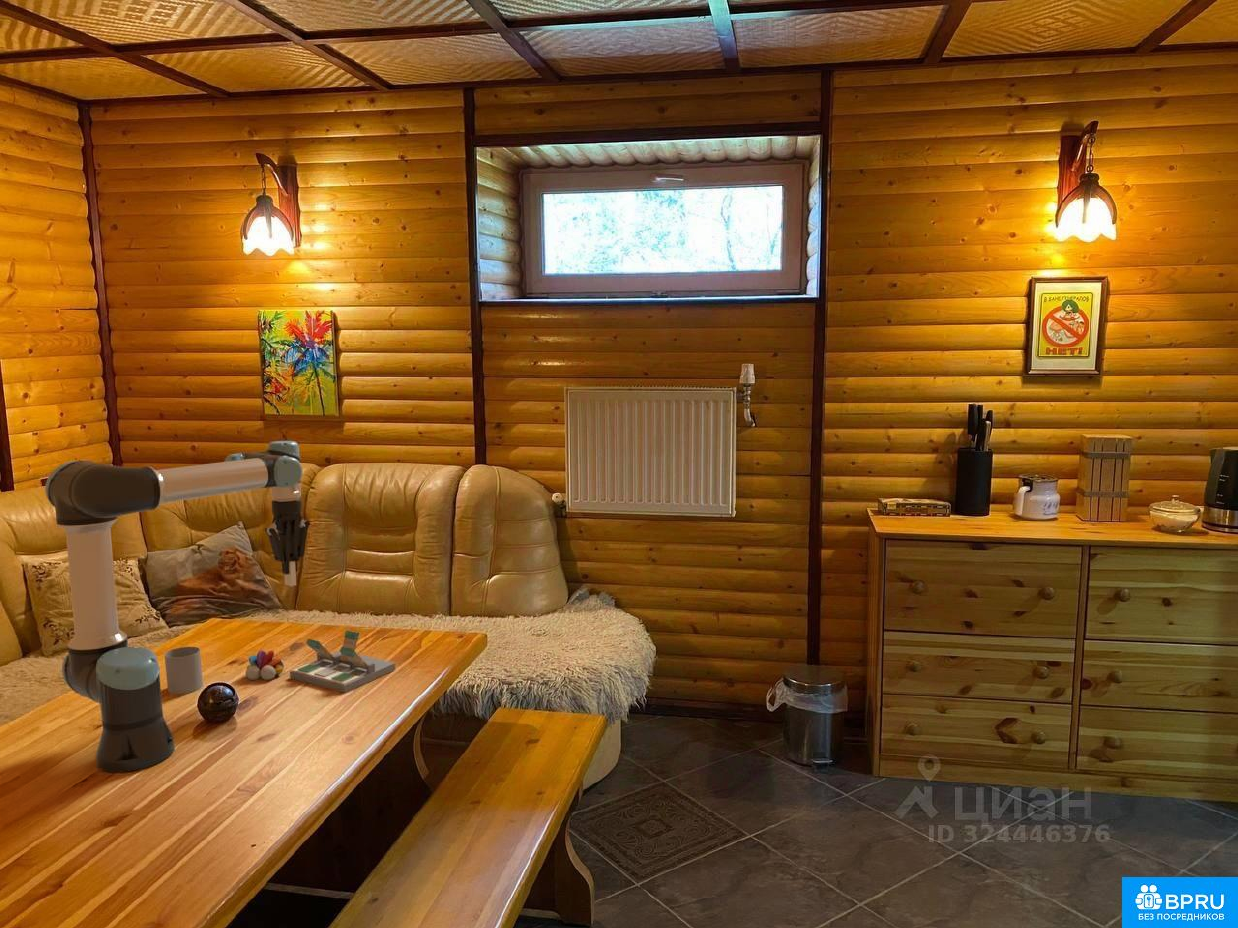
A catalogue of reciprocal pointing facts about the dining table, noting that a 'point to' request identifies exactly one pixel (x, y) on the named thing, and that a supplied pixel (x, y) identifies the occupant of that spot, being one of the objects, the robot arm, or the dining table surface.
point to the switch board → (341, 672)
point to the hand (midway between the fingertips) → (290, 584)
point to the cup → (183, 670)
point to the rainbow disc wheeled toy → (264, 666)
